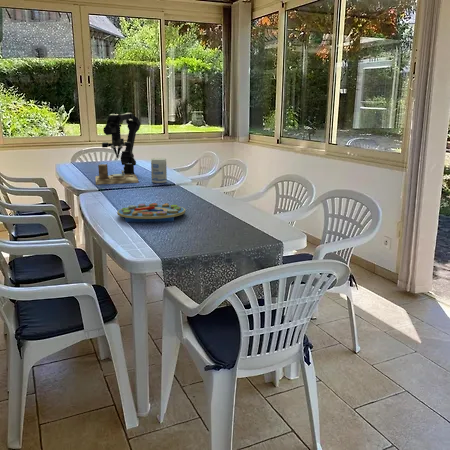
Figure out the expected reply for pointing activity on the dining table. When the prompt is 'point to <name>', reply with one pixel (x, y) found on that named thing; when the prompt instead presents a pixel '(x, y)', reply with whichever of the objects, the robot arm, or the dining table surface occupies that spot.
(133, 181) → the puzzle board
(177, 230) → the dining table surface
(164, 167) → the supplement tub
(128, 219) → the shape sorting clock
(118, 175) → the slide cover
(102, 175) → the walnut block
